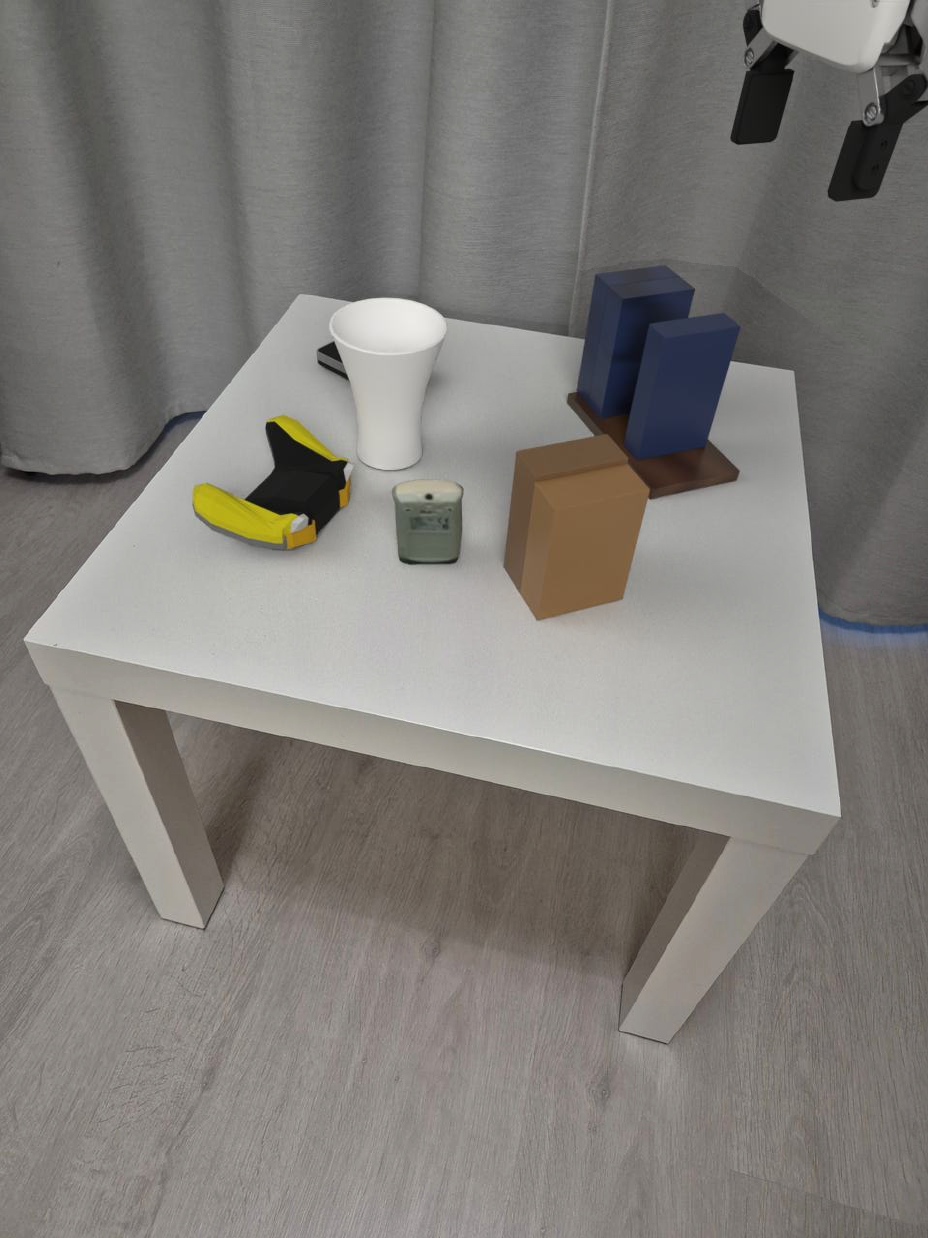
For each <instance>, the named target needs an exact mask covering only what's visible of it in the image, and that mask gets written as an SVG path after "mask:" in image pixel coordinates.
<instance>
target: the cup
mask: <svg viewBox="0 0 928 1238" xmlns="http://www.w3.org/2000/svg"><path fill="white" fill-rule="evenodd" d="M328 328H329V331H330V334H331V337H332V339H333V341H335V344H336V346H337V349H338V352H339V354H340V357H341V359H342V362H343V365H344V367H345V370H346V373H347V375H348V378H349V380H348V381H349V384H350V388H351V391H352V397H353V400H354V406H355V411H356V412H355V413H356V420H357V429H358V430H357V444H356V455H357V457H358V458H359V459H360V461H361V462H362V463H364V464H365V465H366V466H369V467H371V468H373V469H377V470H383V471H398V470H403V469H406V468H410V467H411V466H414V465H415V464H416V463H417V462H419V461H420V460H421V458H422V455H423V442H422V440H423V439H422V431H421V430H422V429H421V428H422V417H423V408H424V403H425V398H426V395H427V389H428V385H429V382H430V379H431V376H432V374H433V372H434V368H435V365H436V362H437V360H438V357H439V354H440V352H441V349H442V346H443V344H444V341H445V338H446V336H447V333H448V323H447V321H446V320H445V318H444V316H443V315H442V314H441V313H440V312H439V311H438V310H436V309H435V308H434V307H431V306H429V305H427V304H425V303H422V302H418V301H415V300H412V299H405V298H400V297H374V298H373V297H372V298H365V299H361V300H357V301H354V302H351V303H349V304H346V305H344V306H342V307H341V308H339V309H338V310H336V311H335V312H334V314H333V315H332V316H331V317H330V319H329V324H328Z"/></svg>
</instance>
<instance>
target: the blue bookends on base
mask: <svg viewBox="0 0 928 1238" xmlns="http://www.w3.org/2000/svg"><path fill="white" fill-rule="evenodd" d="M695 292H696V288H695V287H694V286H692V285H691V284H690V283H689V282H687V281H686V280H685V279H684V278H683V277H681V276H680V275H679V274H677V273H676V272H675V271H674V270H673V269H671V268H670V267H669V266H668V265H666V264H662V265H654V266H647V267H637V268H631V269H630V268H629V269H624V270H615V271H608V272H600V273H599V272H598V273H595V275H594V280H593V286H592V292H591V298H590V304H589V311H588V318H587V324H586V330H585V335H584V343H583V348H582V354H581V362H580V367H579V373H578V379H577V385H576V391H573V392H568V393H567V398H566V403H567V405H568V406H569V408H571V410H572V411H573V412H574V414H576V415H577V416H578V418H579V419H580V420H581V421H582V422H583V424H584V425H585V426H586V427H587V428H588V429H589V430H590V432H591V433H592V434H593V435H594V436H599V435H604V434H608V435H609V436H610V437H611V439H612V440H613V441H614V442H615V443H616V444H617V445H618V447H619V448H620V449H621V450H622V451H623V452H624V453H625V455H626V456H627V457H628V463H627V464H628V465H629V466H630V467H631V468H632V469H633V470H634V472H635V473H636V474H637V475H638V476H639V477H640V479H641V480H642V481H643V482H644V483H645V484H646V485H647V487H648V488H649V489H650V492H649V496H648V499H649V500H654V499H659V498H663V497H668V496H671V495H672V496H673V495H677V494H681V493H685V492H691V491H695V490H699V489H705V488H709V487H713V486H718V485H723V484H727V483H731V482H736V481H738V478H739V475H740V471H741V470H740V469H739V468H738V467H737V466H736V465H734V463H733V462H732V461H730V459H729V458H728V457H727V456H726V455H725V454H723V452H722V451H721V450H720V449H718V447H717V446H716V445H715V444H713V442H712V441H711V440H709V439H708V440H707V443H706V446H705V447H702V448H697V449H692V450H687V451H682V452H677V453H672V454H667V455H662V456H657V457H652V458H647V459H642V460H636V459H635V458H634V456H633V455H632V454H631V453H630V452H629V451H628V450H627V449H626V447H625V446H624V441H625V436H626V431H627V427H628V422H629V417H630V413H631V408H632V403H633V399H634V394H635V389H636V385H637V380H638V375H639V371H640V366H641V361H642V357H643V352H644V347H645V343H646V338H647V333H648V329H649V324H652V323H659V322H665V321H672V320H679V319H685V318H689V317H690V312H691V308H692V305H693V301H694V295H695Z"/></svg>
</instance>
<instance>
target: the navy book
mask: <svg viewBox="0 0 928 1238" xmlns="http://www.w3.org/2000/svg"><path fill="white" fill-rule="evenodd" d="M740 330H741V325H740V324H739V323H738V322H736V321H735V320H734V319H733V318H731V317H730V316H729V315H728V314H726V313H725V312H720V313H711V314H706V315H700V316H692V317H688V318H685V319H679V320H672V321H665V322H659V323H652V324H649V329H648V333H647V338H646V343H645V347H644V352H643V357H642V361H641V366H640V371H639V375H638V380H637V385H636V389H635V394H634V399H633V403H632V408H631V413H630V417H629V422H628V427H627V431H626V436H625V441H624V446H625V447H626V449H627V450H628V451H629V452H630V453H631V454H632V455H633V456H634V458H635V459H636V460H642V459H647V458H652V457H657V456H662V455H667V454H672V453H677V452H682V451H687V450H692V449H697V448H702V447H705V446H706V443H707V440H709V435H710V433H711V429H712V426H713V424H714V423H713V422H714V420H715V416H716V412H717V409H718V405H719V403H720V399H721V396H722V393H723V389H724V385H725V381H726V378H727V376H728V375H727V374H728V371H729V368H730V365H731V361H732V358H733V354H734V352H735V348H736V344H737V341H738V337H739V335H740Z"/></svg>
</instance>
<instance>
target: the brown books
mask: <svg viewBox="0 0 928 1238" xmlns="http://www.w3.org/2000/svg"><path fill="white" fill-rule="evenodd" d="M627 463H628V457H627V456H626V455H625V453H624V452H623V451H622V450H621V449H620V448H619V447H618V445H617V444H616V443H615V442H614V441H613V440H612V439H611V437H610V436H609V435H608V434H604V435H599V436H595V435H594V436H588V437H583V438H578V439H572V440H568V441H561V442H557V443H551V444H547V445H541V446H536V447H531V448H526V449H525V448H524V449H520V450H516V451H515V459H514V469H513V470H514V471H513V477H512V478H513V479H512V488H511V496H510V504H509V515H508V523H507V531H506V540H505V549H504V559H503V568H504V570H505V572H506V573H507V575H508V576H509V578H510V580H511V582H512V583H513V584H514V586H515V588H516V589H517V590H518V592H519V594H520V596H521V597H522V599H523V600H524V602H525V604H526V605H527V607H528V609H529V610H530V611H531V613H532V615H533V616H534V618H535V619H536V621H538V622H539V621H542V620H546V619H551V618H553V617H557V616H562V615H565V614H570V613H573V612H574V613H575V612H579V611H582V610H584V609H589V608H593V607H597V606H601V605H605V604H610V603H613V602H617V601H621V600H623V599H624V595H625V591H626V588H627V583H628V580H629V575H630V573H631V572H630V571H631V567H632V562H633V559H634V555H635V551H636V547H637V543H638V539H639V536H640V532H641V528H642V524H643V520H644V517H645V512H646V508H647V503H648V499H649V498H648V496H649V492H650V489H649V488H648V487H647V485H646V484H645V483H644V482H643V481H642V480H641V479H640V477H639V476H638V475H637V474H636V473H635V472H634V470H633V469H632V468H631V467H630V466H629V465H628V464H627Z"/></svg>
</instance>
